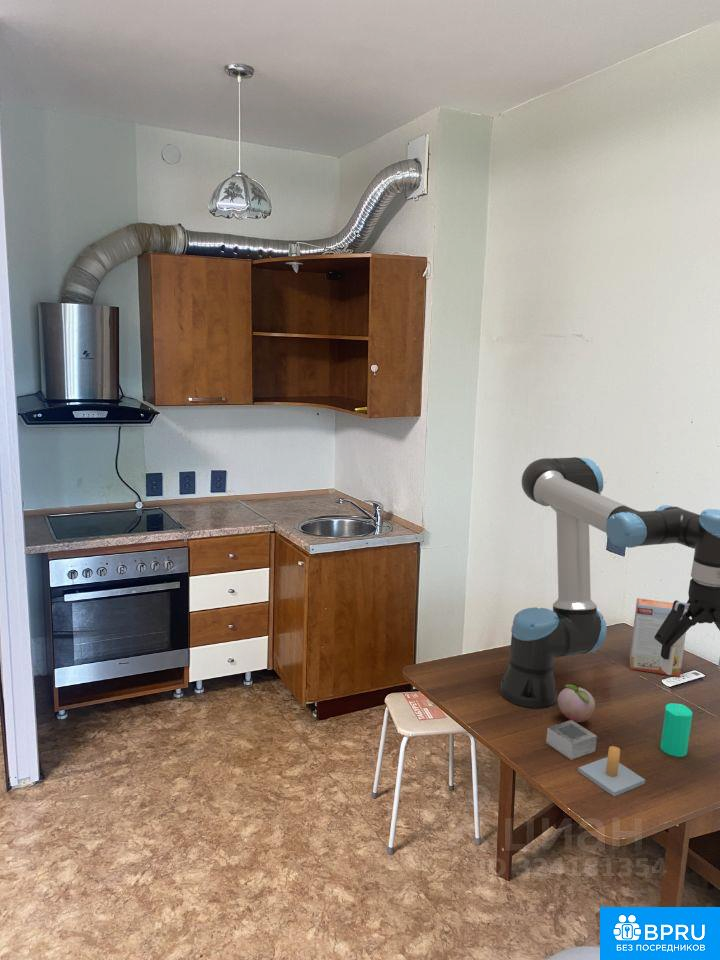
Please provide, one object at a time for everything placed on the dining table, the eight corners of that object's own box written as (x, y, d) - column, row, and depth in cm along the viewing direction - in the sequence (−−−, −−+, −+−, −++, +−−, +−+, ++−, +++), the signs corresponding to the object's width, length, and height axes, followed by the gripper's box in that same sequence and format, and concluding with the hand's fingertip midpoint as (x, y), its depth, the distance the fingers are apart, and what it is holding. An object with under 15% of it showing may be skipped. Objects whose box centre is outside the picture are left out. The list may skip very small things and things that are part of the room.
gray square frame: (546, 742, 171) (547, 727, 171) (569, 734, 175) (571, 719, 175) (571, 760, 165) (572, 744, 164) (595, 751, 169) (597, 735, 168)
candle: (664, 739, 175) (670, 694, 173) (690, 749, 171) (696, 703, 169) (656, 749, 170) (663, 703, 168) (683, 759, 167) (689, 712, 164)
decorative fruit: (600, 726, 180) (604, 689, 178) (578, 734, 176) (582, 697, 174) (571, 709, 188) (575, 674, 186) (549, 716, 183) (553, 680, 181)
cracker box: (678, 669, 214) (687, 603, 210) (680, 678, 209) (689, 610, 205) (628, 661, 218) (636, 596, 214) (629, 669, 213) (637, 603, 209)
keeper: (578, 771, 160) (581, 743, 159) (608, 760, 165) (612, 732, 164) (613, 796, 152) (617, 767, 150) (644, 783, 157) (648, 755, 155)
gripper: (665, 587, 149) (651, 680, 153) (774, 587, 152) (757, 679, 156) (646, 575, 156) (633, 664, 160) (750, 575, 159) (735, 663, 164)
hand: (694, 671), depth 158 cm, fingers open, 13 cm apart
